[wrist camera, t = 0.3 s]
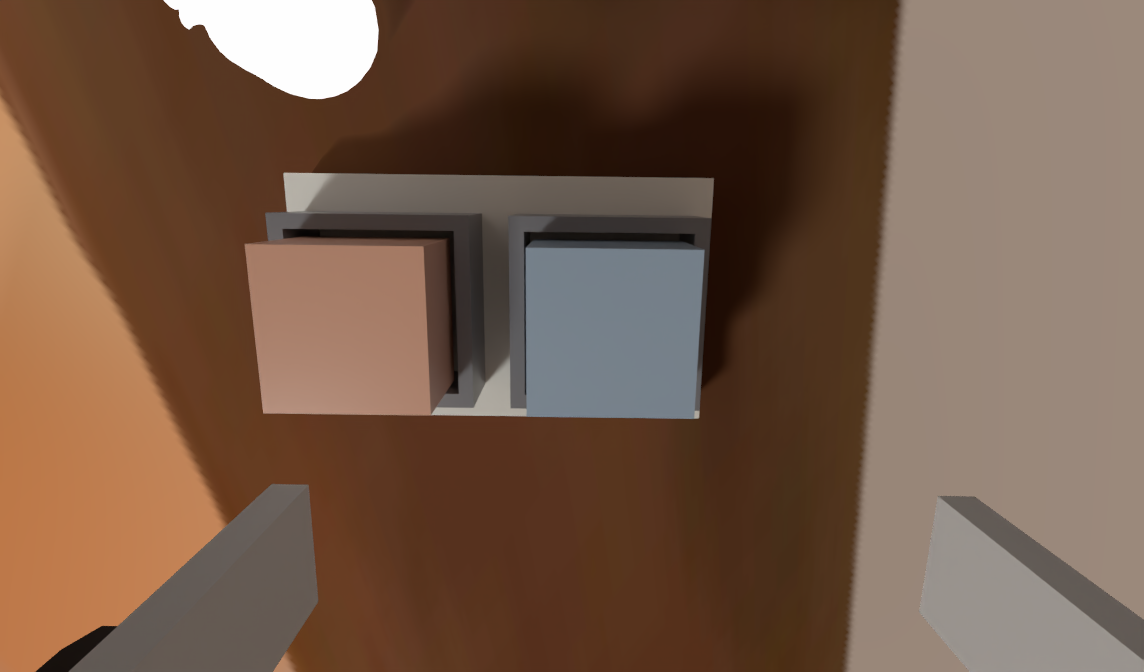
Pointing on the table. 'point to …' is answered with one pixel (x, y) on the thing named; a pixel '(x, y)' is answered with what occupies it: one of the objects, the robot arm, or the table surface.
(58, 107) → the table surface
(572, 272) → the slate blue key
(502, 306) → the key housing
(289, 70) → the figurine
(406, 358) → the terracotta key
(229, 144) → the table surface
